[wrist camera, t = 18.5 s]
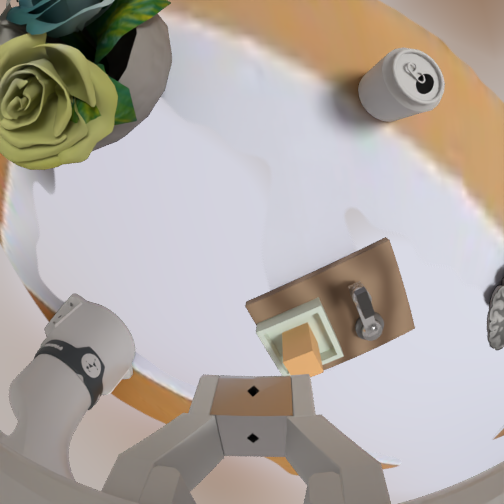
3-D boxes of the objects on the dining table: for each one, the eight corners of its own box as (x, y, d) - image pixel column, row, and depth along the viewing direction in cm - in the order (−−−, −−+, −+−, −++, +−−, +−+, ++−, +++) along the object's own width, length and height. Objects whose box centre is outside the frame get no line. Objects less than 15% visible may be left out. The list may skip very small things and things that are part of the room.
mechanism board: (290, 376, 46) (291, 386, 44) (246, 301, 43) (244, 309, 40) (411, 323, 42) (417, 331, 40) (385, 237, 38) (391, 241, 36)
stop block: (317, 342, 42) (323, 372, 35) (293, 352, 42) (295, 382, 36) (307, 322, 41) (312, 350, 34) (282, 332, 42) (282, 362, 35)
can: (386, 133, 34) (428, 124, 23) (345, 94, 33) (373, 69, 22) (415, 99, 32) (460, 82, 21) (376, 61, 31) (411, 30, 20)
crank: (382, 330, 40) (393, 352, 34) (364, 339, 40) (373, 361, 35) (360, 270, 37) (372, 287, 32) (340, 280, 38) (349, 298, 33)
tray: (284, 369, 44) (284, 379, 42) (256, 323, 42) (255, 332, 40) (340, 346, 42) (343, 356, 40) (318, 297, 40) (321, 305, 38)
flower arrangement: (49, 72, 34) (-58, 51, 10) (173, -11, 29) (102, -103, 6) (86, 194, 40) (-42, 234, 16) (233, 116, 35) (168, 51, 12)
